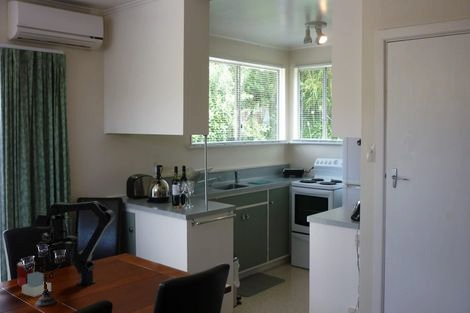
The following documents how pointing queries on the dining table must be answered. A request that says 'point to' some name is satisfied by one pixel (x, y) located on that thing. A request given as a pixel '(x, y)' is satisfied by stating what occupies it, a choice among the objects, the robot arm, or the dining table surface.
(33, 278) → the block
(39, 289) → the base box
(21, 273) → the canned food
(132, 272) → the dining table surface
